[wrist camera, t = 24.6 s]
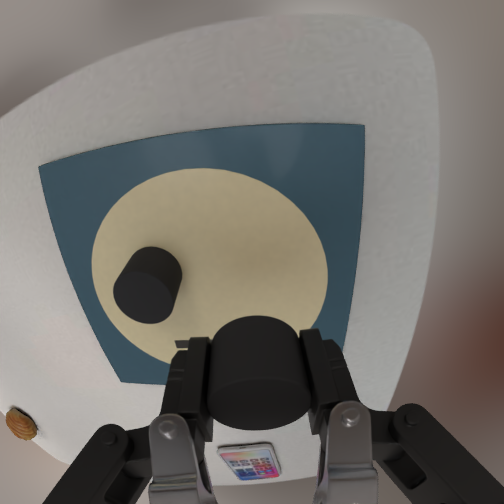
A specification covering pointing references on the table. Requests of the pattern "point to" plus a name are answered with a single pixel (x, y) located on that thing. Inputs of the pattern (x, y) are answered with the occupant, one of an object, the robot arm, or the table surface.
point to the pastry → (20, 425)
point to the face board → (213, 231)
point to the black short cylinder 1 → (148, 285)
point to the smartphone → (251, 461)
